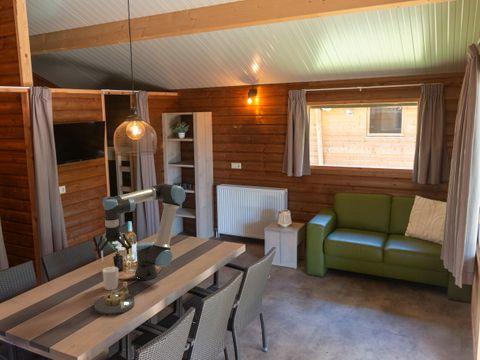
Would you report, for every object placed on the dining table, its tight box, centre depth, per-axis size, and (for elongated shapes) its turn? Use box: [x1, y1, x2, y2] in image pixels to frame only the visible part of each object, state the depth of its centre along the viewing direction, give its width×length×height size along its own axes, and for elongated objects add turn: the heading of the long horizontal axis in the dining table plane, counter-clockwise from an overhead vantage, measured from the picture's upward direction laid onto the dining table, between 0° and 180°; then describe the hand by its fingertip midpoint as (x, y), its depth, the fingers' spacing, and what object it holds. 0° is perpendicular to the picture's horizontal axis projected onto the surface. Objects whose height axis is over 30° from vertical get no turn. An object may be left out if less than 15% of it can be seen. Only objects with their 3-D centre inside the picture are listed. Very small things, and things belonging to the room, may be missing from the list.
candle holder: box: [101, 266, 119, 291], centre depth 260 cm, size 10×10×12 cm
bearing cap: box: [93, 293, 135, 316], centre depth 235 cm, size 22×22×7 cm
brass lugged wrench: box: [103, 281, 129, 306], centre depth 237 cm, size 17×11×7 cm, turn 158°
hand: (114, 260), depth 240 cm, fingers open, 13 cm apart
